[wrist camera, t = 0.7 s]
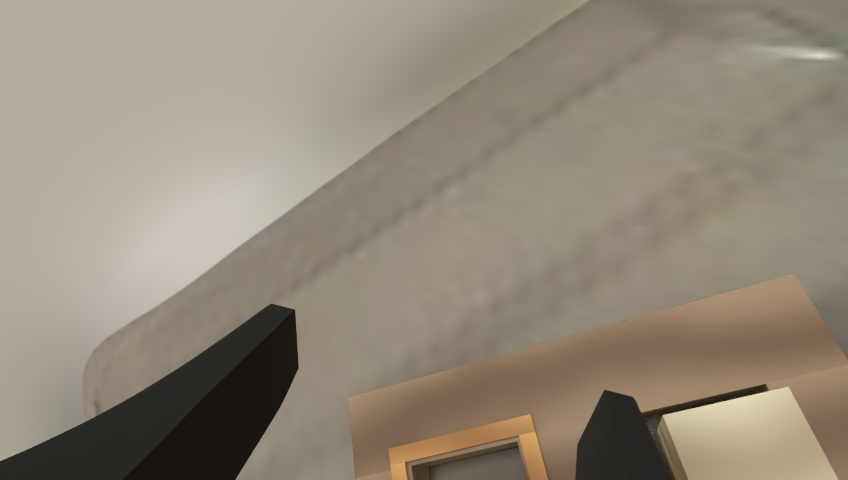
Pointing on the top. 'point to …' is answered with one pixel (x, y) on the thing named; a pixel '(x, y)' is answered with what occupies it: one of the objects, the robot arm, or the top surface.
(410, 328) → the top surface
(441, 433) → the wooden peg tray
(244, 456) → the robot arm
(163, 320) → the top surface
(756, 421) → the peg
